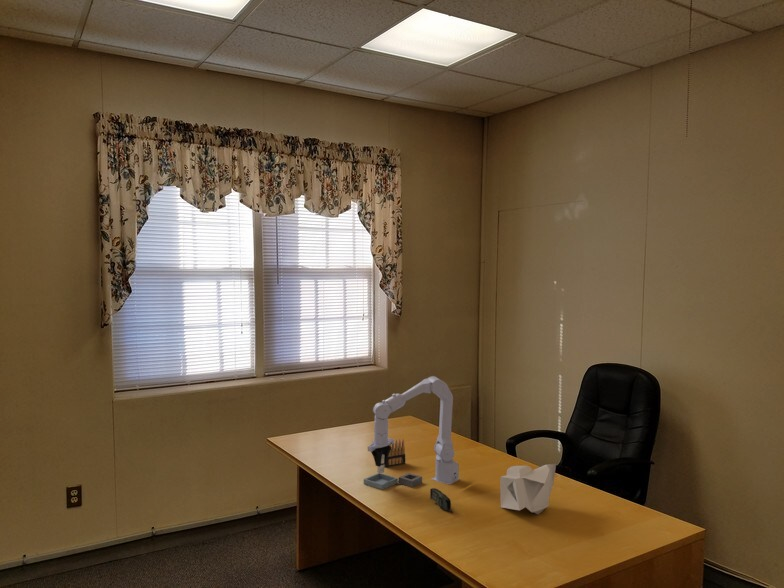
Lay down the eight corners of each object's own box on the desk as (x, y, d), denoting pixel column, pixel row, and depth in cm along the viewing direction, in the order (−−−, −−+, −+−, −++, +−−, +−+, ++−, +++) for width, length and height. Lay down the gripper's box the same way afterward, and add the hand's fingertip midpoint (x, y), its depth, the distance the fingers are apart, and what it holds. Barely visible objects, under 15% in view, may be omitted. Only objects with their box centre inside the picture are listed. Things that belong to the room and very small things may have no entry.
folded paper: (496, 463, 217) (532, 481, 203) (540, 452, 231) (576, 468, 217) (493, 507, 219) (528, 527, 205) (536, 494, 233) (571, 512, 219)
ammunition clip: (403, 463, 268) (403, 438, 267) (405, 464, 266) (405, 439, 266) (383, 467, 263) (383, 441, 262) (385, 468, 261) (385, 442, 260)
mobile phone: (428, 487, 226) (447, 500, 213) (435, 486, 228) (455, 499, 214) (428, 500, 226) (447, 514, 213) (435, 499, 228) (455, 513, 214)
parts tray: (397, 484, 242) (397, 478, 242) (382, 491, 234) (382, 484, 234) (379, 478, 248) (379, 472, 248) (363, 485, 241) (363, 479, 241)
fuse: (385, 471, 241) (386, 454, 241) (381, 473, 239) (381, 456, 239) (380, 469, 243) (380, 453, 243) (375, 471, 241) (375, 455, 241)
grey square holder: (422, 483, 243) (422, 476, 243) (412, 488, 237) (412, 481, 237) (408, 479, 247) (408, 472, 247) (398, 484, 242) (398, 477, 242)
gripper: (384, 427, 249) (384, 458, 249) (362, 434, 237) (361, 467, 238) (397, 430, 244) (397, 462, 245) (375, 437, 233) (374, 471, 233)
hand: (380, 464), depth 241 cm, fingers closed on fuse, 3 cm apart
